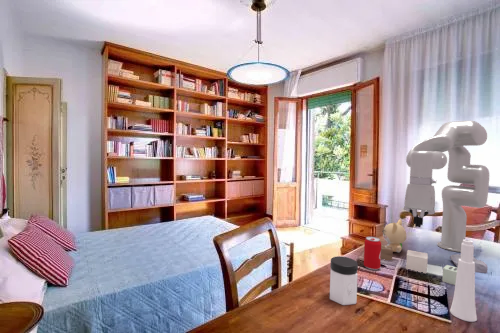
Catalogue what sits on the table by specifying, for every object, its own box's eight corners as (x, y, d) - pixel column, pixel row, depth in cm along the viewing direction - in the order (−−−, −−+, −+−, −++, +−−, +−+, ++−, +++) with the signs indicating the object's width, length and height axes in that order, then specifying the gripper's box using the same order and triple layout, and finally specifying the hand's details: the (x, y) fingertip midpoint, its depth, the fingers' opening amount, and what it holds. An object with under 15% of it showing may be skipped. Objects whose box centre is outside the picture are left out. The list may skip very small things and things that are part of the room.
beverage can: (382, 267, 108) (383, 238, 107) (377, 272, 103) (378, 242, 102) (366, 263, 112) (367, 235, 111) (361, 267, 107) (362, 238, 107)
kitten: (387, 244, 136) (389, 215, 135) (409, 249, 129) (411, 219, 128) (377, 251, 126) (378, 220, 125) (400, 257, 119) (402, 225, 118)
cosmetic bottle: (445, 308, 79) (449, 236, 78) (465, 309, 79) (470, 237, 78) (460, 321, 73) (465, 243, 72) (482, 322, 73) (487, 244, 72)
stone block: (462, 276, 106) (491, 273, 104) (460, 264, 106) (488, 261, 104) (447, 265, 117) (472, 262, 116) (444, 254, 118) (470, 252, 116)
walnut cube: (379, 255, 121) (379, 244, 121) (391, 257, 119) (391, 246, 119) (379, 259, 117) (380, 247, 116) (392, 261, 115) (392, 249, 114)
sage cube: (445, 277, 100) (446, 264, 100) (462, 282, 96) (463, 268, 96) (442, 281, 97) (443, 267, 97) (459, 286, 93) (460, 272, 93)
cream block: (407, 263, 113) (407, 249, 112) (426, 267, 109) (427, 253, 108) (406, 269, 107) (406, 254, 106) (426, 274, 103) (427, 258, 103)
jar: (336, 306, 79) (338, 267, 78) (323, 292, 87) (324, 257, 86) (363, 303, 81) (364, 265, 80) (347, 290, 89) (349, 255, 88)
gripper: (443, 182, 104) (441, 228, 105) (401, 179, 114) (398, 221, 115) (442, 183, 99) (439, 232, 99) (397, 180, 108) (395, 224, 109)
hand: (417, 226), depth 107 cm, fingers closed
